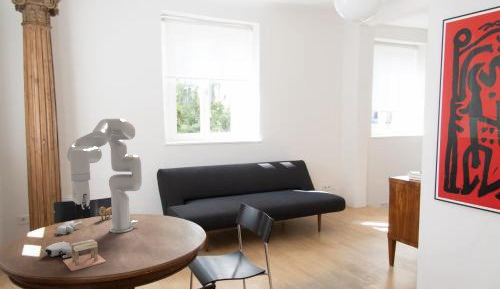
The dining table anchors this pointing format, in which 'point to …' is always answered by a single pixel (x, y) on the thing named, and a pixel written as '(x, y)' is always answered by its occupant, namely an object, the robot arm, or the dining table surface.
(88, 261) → the terracotta mat
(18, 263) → the dining table surface
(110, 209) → the lion figurine
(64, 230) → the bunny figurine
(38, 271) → the dining table surface
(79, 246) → the birch stool
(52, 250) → the robot toy
